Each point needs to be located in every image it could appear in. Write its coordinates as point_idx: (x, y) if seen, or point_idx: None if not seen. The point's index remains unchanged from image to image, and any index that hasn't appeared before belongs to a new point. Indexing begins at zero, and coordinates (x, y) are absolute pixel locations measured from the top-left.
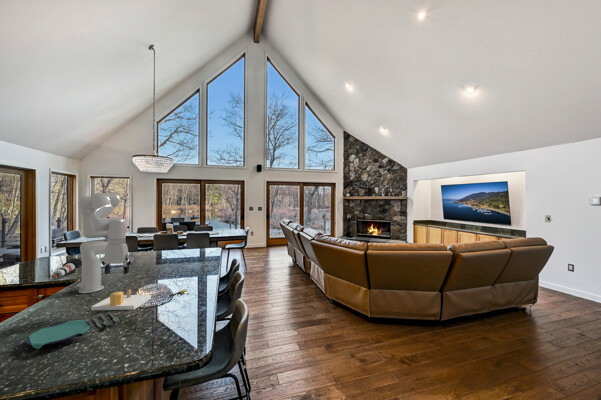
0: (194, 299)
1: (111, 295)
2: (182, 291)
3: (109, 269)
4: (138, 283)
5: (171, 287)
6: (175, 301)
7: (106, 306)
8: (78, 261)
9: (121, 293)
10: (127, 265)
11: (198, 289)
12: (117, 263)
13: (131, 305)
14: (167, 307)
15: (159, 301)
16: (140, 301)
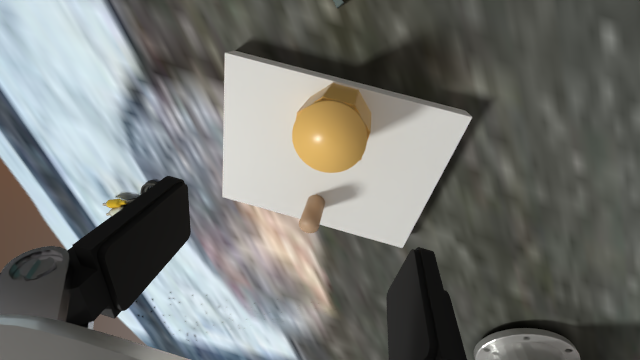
0: (28, 110)
1: (351, 108)
2: (116, 201)
3: (394, 329)
4: (355, 354)
5: (210, 276)
6: (96, 110)
7: (382, 94)
8: None
9: (294, 126)
10: (21, 268)
11: (92, 222)
12: (105, 341)
13: (242, 62)
14: (80, 32)
15: (169, 134)
16: (225, 115)
